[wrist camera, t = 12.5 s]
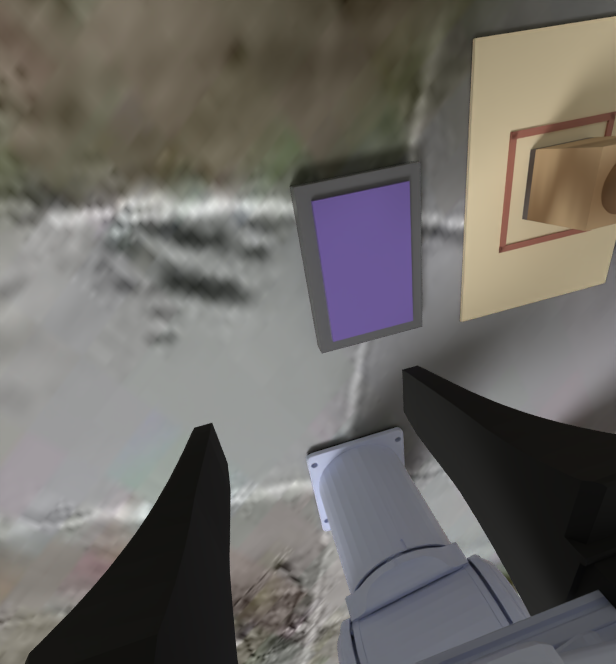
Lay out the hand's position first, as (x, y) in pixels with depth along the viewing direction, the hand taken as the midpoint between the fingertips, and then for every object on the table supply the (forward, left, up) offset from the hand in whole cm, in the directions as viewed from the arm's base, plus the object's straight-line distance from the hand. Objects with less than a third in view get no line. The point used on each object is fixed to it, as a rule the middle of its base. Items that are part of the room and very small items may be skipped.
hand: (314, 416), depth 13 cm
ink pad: (+2, -6, -10) cm, 12 cm away
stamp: (+4, -19, -10) cm, 22 cm away
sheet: (+4, -19, -10) cm, 22 cm away
